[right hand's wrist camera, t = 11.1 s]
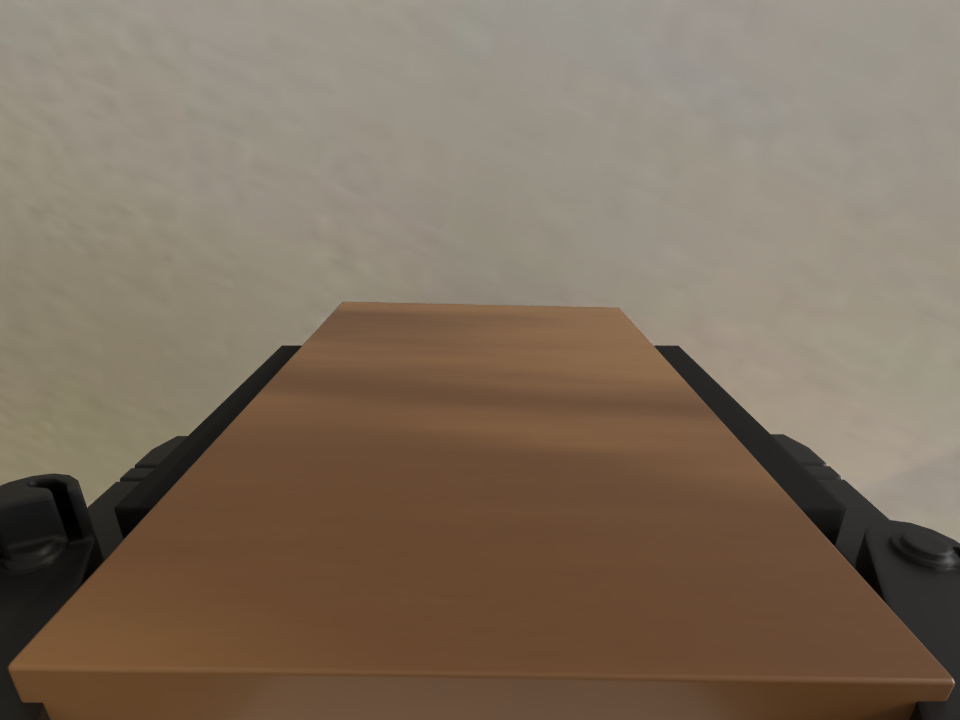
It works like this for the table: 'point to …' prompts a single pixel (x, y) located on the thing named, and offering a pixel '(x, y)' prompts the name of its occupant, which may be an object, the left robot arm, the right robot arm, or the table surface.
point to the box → (476, 550)
